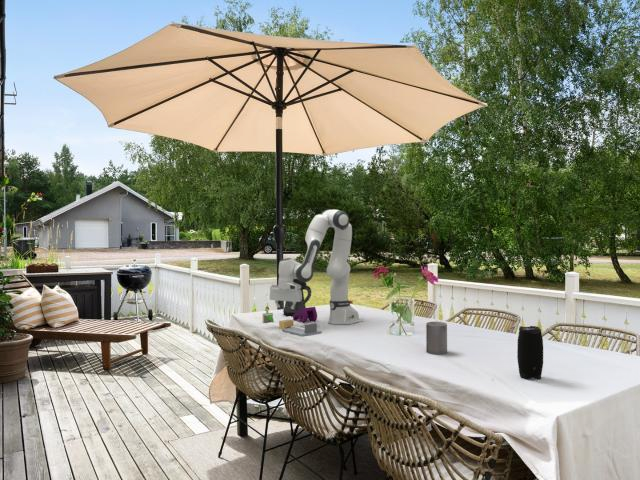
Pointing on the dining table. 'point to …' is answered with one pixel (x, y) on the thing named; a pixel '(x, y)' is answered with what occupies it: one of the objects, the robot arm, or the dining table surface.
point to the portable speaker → (530, 352)
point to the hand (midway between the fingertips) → (285, 308)
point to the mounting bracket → (306, 314)
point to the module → (286, 324)
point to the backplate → (303, 330)
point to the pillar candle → (436, 338)
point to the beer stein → (298, 305)
